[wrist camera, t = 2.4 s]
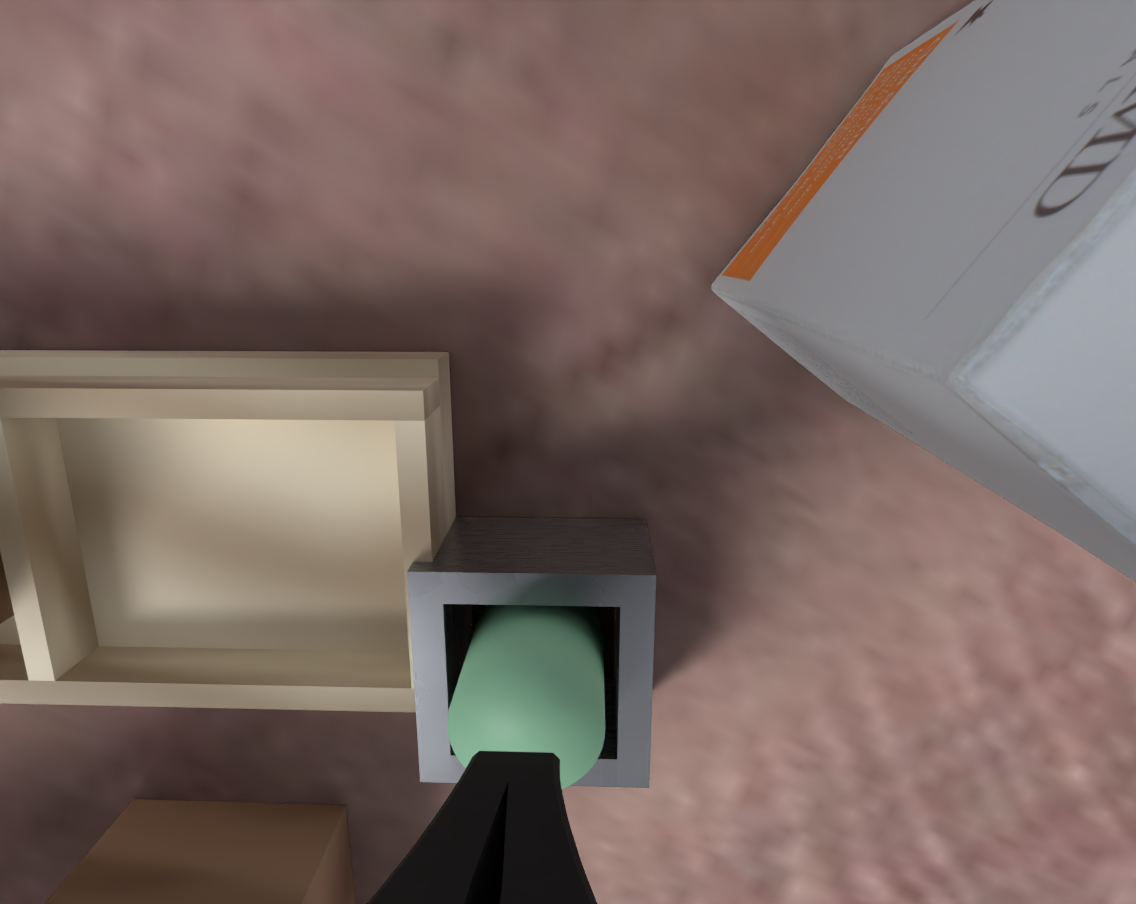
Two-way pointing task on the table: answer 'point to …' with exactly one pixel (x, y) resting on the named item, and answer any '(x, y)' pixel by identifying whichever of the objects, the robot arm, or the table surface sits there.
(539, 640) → the button
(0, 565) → the seated walnut billet
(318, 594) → the wooden divided tray
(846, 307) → the skincare box
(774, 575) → the table surface
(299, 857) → the block
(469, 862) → the robot arm
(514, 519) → the button housing
